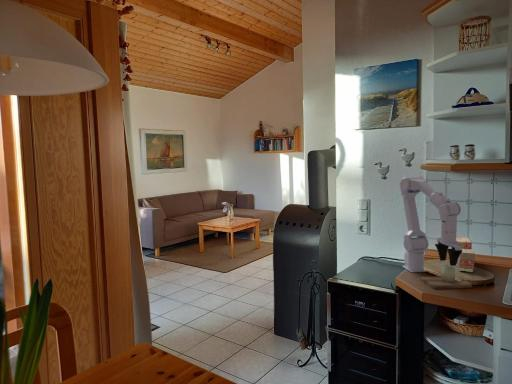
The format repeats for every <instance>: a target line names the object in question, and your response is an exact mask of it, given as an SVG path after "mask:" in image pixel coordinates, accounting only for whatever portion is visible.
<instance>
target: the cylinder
mask: <svg viewBox="0 0 512 384" xmlns="http://www.w3.org/2000/svg"><path fill="white" fill-rule="evenodd" d="M441 276H442V281H444V282H455V276H456V266H451V265H450V264H443V265H442V266H441Z"/></svg>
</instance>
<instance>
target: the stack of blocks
mask: <svg viewBox="0 0 512 384" xmlns="http://www.w3.org/2000/svg"><path fill="white" fill-rule="evenodd" d="M456 241H458V242H459V243H458V244H459V245H461V250H463V251H462V253H461V254H460V256H459V258H458V261H457V265H458V267H459V268H464V269H472V270H474V271H475V260H476V252H474V250H473V248H472V247H473V246H472V244H473V243H472V241H471V240H470V239H469V237H466V236H465V237H464V236H462V237H461V236H456Z"/></svg>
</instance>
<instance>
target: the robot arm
mask: <svg viewBox="0 0 512 384" xmlns="http://www.w3.org/2000/svg"><path fill="white" fill-rule="evenodd" d="M399 187H400V193H401V196H402V201H403V207H404V208H403V209H404V215H405V219H406V227H407V230H408V231H407V232H406V233H405V234H404V235H403V247H404V249H405V252H404V261H403V262H404V263H403V264H404V265H402V267H403V268H404V269H405V270H407V271H408V272H410V273H425V272H427V273H428V270H427V269H426V270H427V271H426V270H424V269H425V253H426V250H428V248H429V241H428V239H427V236H426V235H427V234H426V233H425V232H423V231H422V230H421V227H420V226H421V225H420V221H419V215H418V209H417V204H416V197H417V195H419V194H420V193H423V194H424V195H425V196H426V197H428V198H429V202H430V203H431V204H432V205H433V206H434V207H435V208H437V209H438V210H437V211H438V214H439V216H440V217H439V219H440V220H441V223H440V224H441V226H440V227H441V231H440V232H441V233H440V237H437V238H436V242H437V243H435V244H434V246H435V248H436V250H437V253H438V257H439V261H440V262H442V261H444V262H445V261H446V260H447V253H448V257H449V259H448V260H449V265H451V266H454V267H457V266H456V264H457V261H458V258H459V256H460V254H461V253H462V251H463V250H461V245H459V244H458V243H459V242H458V241H456V237H457V229H458V228H457V226H458V222H457V221H458V216H459V215H460V214H461V205H460V204H459V203H458V202H457V201H451V199H449V198H447V197H446V196H445V195H444V193H443V192H442V191H441V192H440V191H435V189H433V188H432V187H431V185H429V184H428V183H427V179H426V178H424V177H423V176H404V177H402V178H401V179H400V182H399Z"/></svg>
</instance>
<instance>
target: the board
mask: <svg viewBox="0 0 512 384" xmlns="http://www.w3.org/2000/svg"><path fill="white" fill-rule="evenodd" d="M419 281H421V282H423V283H424V284H426V285H427V286H429V287H430V288H432V289H434V290H443V289H444V290H445V289H464V288H466V289H467V288H468V289H469V288H473V284H472V283H471V282H469V281H467V280H465V281H464V282H463V281H462V282H461V281H457V280H455V282H444V281H442V275H436V276H434V275H433V276H420V277H419Z"/></svg>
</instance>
